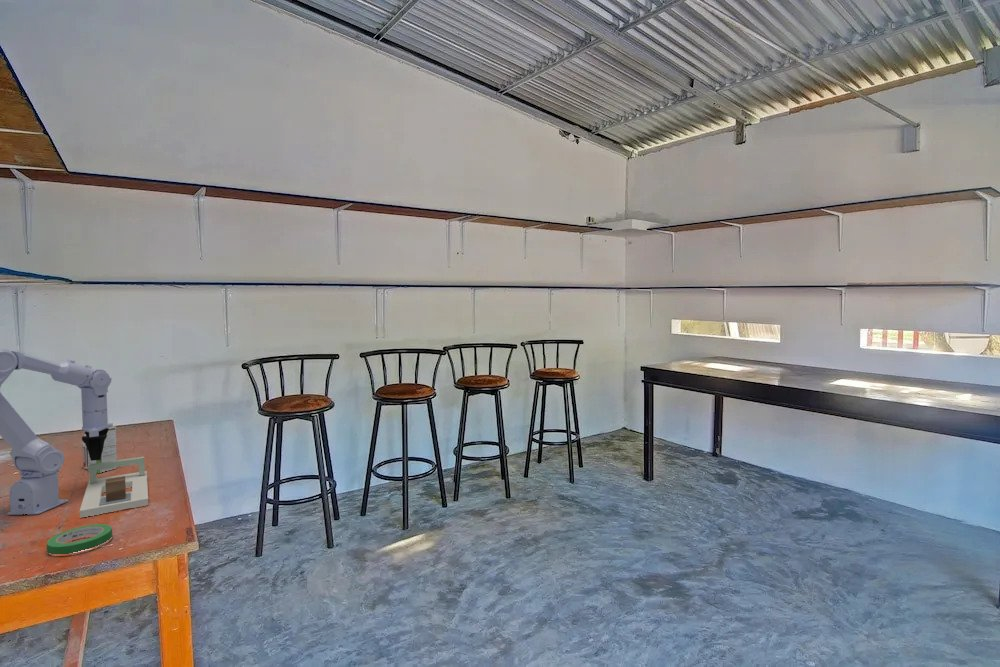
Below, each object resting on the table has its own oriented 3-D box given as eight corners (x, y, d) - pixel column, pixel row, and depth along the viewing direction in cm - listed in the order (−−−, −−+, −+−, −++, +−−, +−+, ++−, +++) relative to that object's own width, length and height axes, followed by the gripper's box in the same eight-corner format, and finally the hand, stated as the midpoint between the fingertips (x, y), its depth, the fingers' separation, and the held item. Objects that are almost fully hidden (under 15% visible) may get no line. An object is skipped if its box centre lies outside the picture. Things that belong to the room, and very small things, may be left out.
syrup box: (87, 472, 165) (85, 427, 165) (107, 467, 171) (105, 424, 170) (98, 474, 163) (96, 429, 163) (118, 468, 169) (116, 425, 168)
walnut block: (125, 498, 134) (124, 479, 134) (106, 502, 131) (105, 482, 131) (125, 494, 137) (125, 476, 137) (107, 497, 135) (106, 478, 135)
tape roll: (43, 563, 104) (43, 550, 104) (50, 544, 113) (49, 532, 113) (111, 548, 111) (111, 536, 111) (113, 531, 120) (112, 520, 120)
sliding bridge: (144, 474, 154) (144, 457, 154) (89, 483, 147) (89, 465, 147) (144, 473, 156) (144, 456, 156) (90, 481, 148) (89, 464, 148)
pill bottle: (111, 465, 173) (110, 431, 173) (93, 470, 167) (91, 435, 167) (97, 464, 174) (96, 431, 174) (78, 469, 168) (77, 435, 168)
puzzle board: (148, 506, 135) (148, 497, 135) (79, 518, 127) (79, 509, 126) (146, 477, 159) (146, 470, 159) (89, 486, 151) (89, 478, 151)
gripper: (111, 412, 144) (113, 460, 145) (113, 405, 156) (114, 449, 157) (78, 415, 140) (80, 464, 141) (83, 408, 152) (85, 453, 153)
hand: (96, 457), depth 148 cm, fingers open, 7 cm apart
